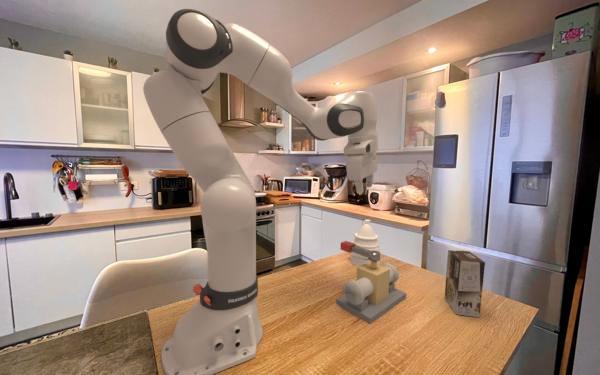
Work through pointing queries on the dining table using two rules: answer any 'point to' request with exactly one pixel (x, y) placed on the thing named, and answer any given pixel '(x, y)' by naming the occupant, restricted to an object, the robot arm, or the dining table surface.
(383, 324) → the dining table surface
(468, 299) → the coffee box
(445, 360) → the dining table surface
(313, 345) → the dining table surface
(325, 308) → the dining table surface
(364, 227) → the honey pot
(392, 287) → the valve
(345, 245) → the lever
